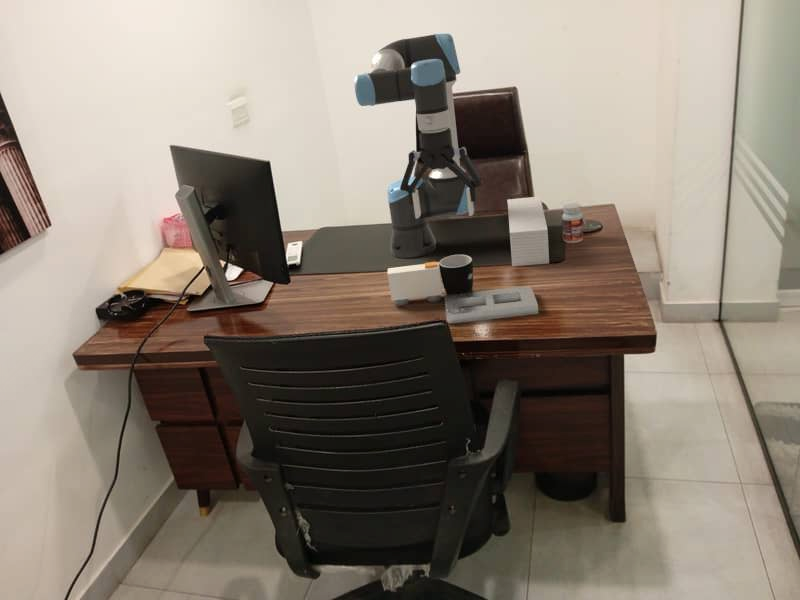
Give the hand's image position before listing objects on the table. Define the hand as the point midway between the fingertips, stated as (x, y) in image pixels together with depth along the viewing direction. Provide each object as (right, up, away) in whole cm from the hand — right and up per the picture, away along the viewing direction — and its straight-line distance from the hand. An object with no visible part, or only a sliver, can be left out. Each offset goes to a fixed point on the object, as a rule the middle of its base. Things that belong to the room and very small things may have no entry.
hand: (444, 215), depth 166 cm
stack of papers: (+29, -4, +45) cm, 53 cm away
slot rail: (+12, -23, +8) cm, 28 cm away
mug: (+6, -19, +20) cm, 28 cm away
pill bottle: (+43, -2, +43) cm, 61 cm away
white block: (-6, -21, +19) cm, 29 cm away
